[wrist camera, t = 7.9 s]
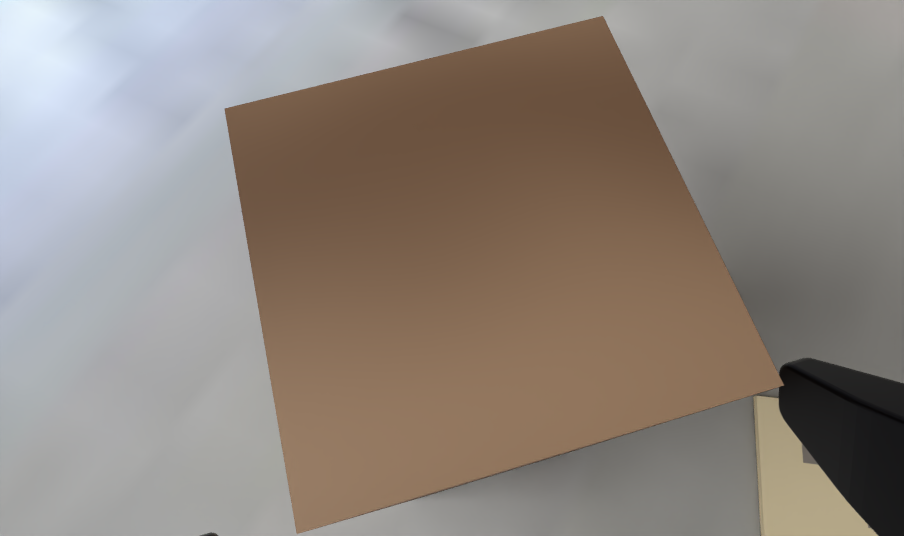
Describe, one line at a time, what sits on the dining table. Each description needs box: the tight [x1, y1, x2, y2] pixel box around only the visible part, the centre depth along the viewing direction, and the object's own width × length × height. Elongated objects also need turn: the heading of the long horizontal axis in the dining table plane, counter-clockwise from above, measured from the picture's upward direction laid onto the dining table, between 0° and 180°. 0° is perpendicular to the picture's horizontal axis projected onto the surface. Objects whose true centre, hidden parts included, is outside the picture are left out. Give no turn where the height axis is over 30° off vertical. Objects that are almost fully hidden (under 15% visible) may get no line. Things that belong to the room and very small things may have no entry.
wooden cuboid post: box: [225, 16, 784, 534], centre depth 12 cm, size 5×5×12 cm
